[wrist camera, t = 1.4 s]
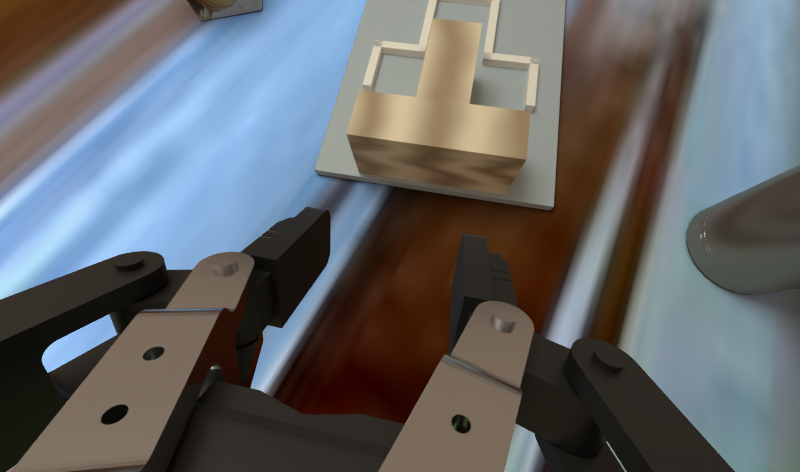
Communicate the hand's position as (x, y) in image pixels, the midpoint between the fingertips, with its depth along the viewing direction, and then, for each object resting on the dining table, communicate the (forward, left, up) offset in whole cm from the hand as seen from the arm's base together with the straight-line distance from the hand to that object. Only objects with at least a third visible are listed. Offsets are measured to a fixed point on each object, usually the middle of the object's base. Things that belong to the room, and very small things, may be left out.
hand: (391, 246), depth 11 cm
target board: (0, -29, -22) cm, 37 cm away
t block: (0, -21, -21) cm, 30 cm away
